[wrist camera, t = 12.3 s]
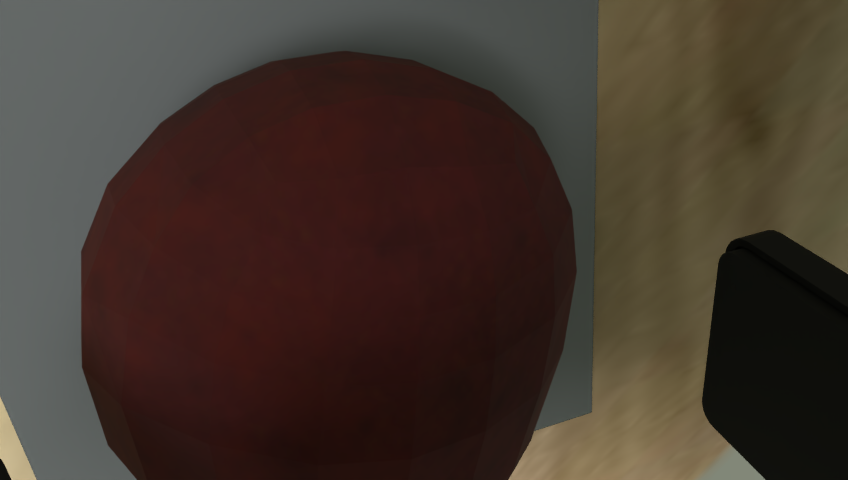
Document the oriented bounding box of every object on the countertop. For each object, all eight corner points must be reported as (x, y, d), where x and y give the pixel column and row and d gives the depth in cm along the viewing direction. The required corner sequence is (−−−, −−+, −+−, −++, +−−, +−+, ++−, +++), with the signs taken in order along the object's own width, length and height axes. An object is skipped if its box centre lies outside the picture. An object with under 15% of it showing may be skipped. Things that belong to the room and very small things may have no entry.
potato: (541, 69, 15) (761, 185, 10) (405, 451, 18) (521, 691, 13) (124, -45, 12) (132, 40, 7) (43, 441, 15) (8, 752, 10)
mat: (-160, -29, 12) (-181, -18, 11) (572, -123, 15) (600, -121, 14) (81, 542, 17) (79, 578, 16) (571, 388, 20) (591, 412, 19)
